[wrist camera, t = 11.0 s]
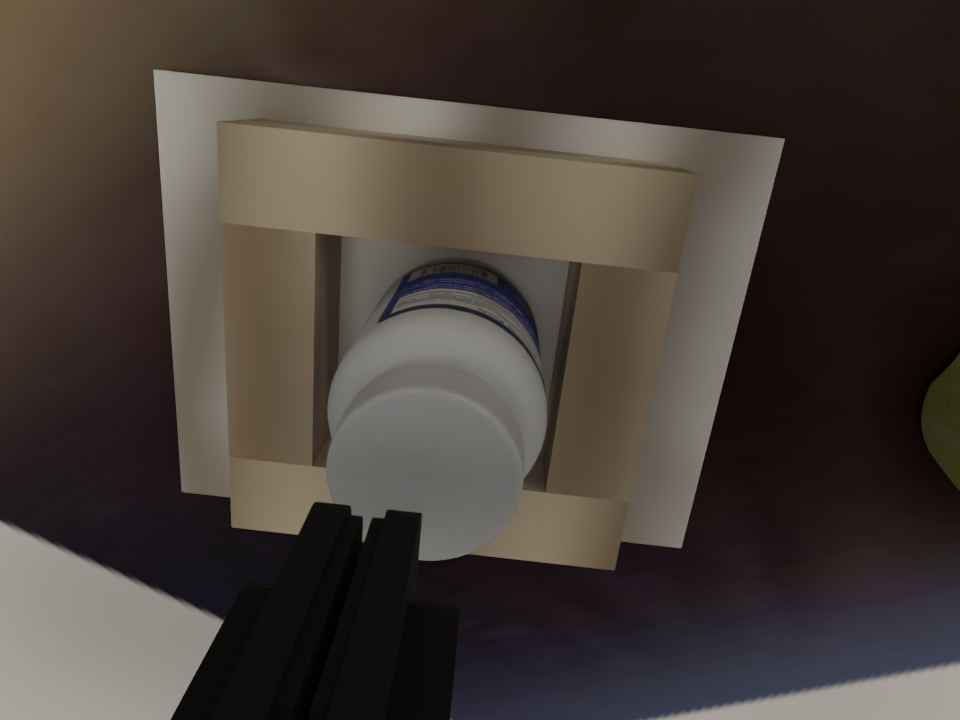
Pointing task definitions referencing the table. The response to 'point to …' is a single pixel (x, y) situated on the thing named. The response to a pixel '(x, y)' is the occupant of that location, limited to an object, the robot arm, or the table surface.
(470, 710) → the table surface
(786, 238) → the table surface
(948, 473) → the plant pot
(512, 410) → the pill bottle
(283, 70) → the table surface
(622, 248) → the frame
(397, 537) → the robot arm
